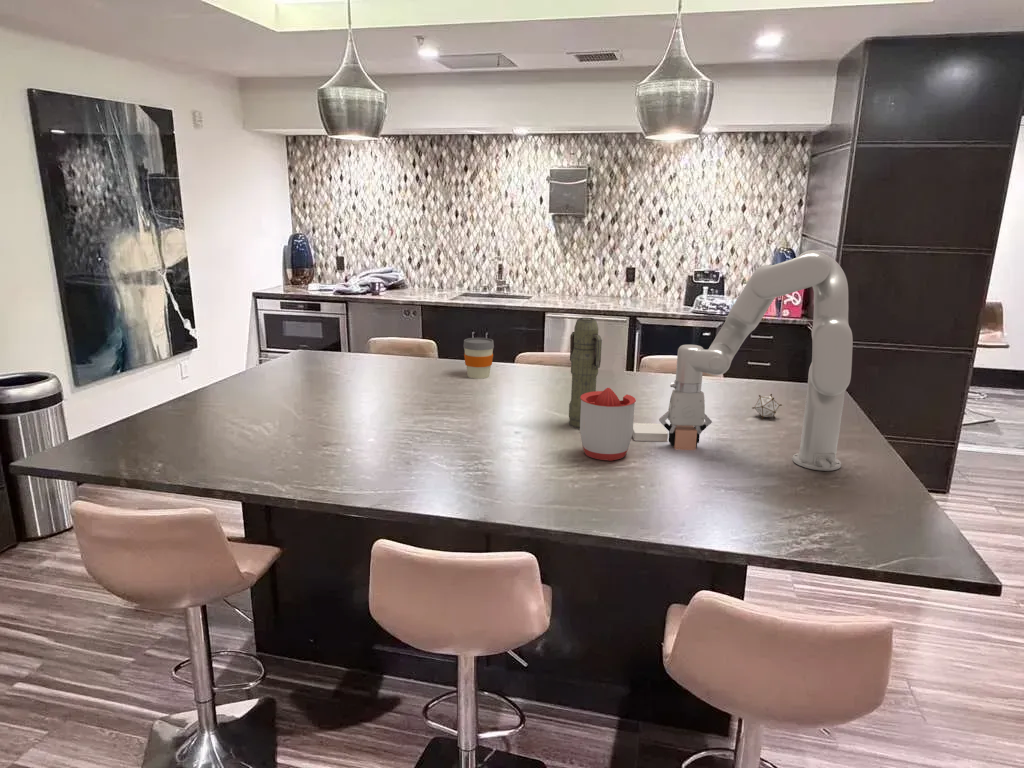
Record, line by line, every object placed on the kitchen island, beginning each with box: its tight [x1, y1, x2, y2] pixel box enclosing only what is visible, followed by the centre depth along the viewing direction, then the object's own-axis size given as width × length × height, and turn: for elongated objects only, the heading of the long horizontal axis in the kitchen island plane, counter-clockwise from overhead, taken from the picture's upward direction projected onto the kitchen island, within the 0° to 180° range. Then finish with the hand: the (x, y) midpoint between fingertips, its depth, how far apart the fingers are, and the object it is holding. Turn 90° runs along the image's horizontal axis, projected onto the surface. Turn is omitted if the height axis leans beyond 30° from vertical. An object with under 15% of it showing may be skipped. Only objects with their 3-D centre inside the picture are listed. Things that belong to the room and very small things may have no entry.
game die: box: [751, 393, 783, 420], centre depth 242 cm, size 9×8×10 cm
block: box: [632, 422, 669, 443], centre depth 222 cm, size 10×10×2 cm
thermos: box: [568, 317, 603, 430], centre depth 228 cm, size 9×12×35 cm
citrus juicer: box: [579, 387, 637, 462], centre depth 203 cm, size 16×17×20 cm
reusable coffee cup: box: [462, 337, 495, 380], centre depth 292 cm, size 13×13×15 cm
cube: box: [672, 426, 697, 451], centre depth 212 cm, size 6×6×6 cm
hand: (683, 444), depth 213 cm, fingers open, 6 cm apart
